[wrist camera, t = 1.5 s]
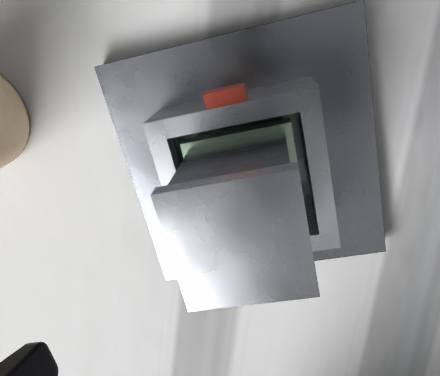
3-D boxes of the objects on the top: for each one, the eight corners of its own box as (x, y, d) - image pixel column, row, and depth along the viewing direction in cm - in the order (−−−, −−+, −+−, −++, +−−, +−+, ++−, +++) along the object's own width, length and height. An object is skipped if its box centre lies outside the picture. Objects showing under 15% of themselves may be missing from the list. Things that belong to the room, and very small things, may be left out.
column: (302, 199, 19) (323, 298, 12) (213, 214, 20) (185, 314, 13) (287, 108, 18) (301, 165, 11) (190, 128, 19) (146, 192, 12)
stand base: (380, 241, 21) (404, 287, 17) (169, 270, 23) (151, 316, 20) (358, 1, 17) (384, -5, 13) (102, 64, 19) (63, 74, 15)
